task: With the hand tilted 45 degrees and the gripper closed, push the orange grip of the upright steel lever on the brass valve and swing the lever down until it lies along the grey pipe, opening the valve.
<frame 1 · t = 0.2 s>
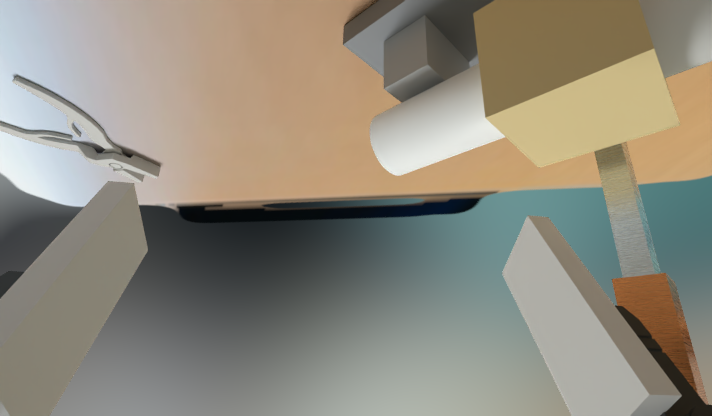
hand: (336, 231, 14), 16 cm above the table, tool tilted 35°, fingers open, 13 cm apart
pliers: (84, 133, 39), on the table
valve lever: (635, 245, 19), point 14 cm above the table, hinge at 0.0°
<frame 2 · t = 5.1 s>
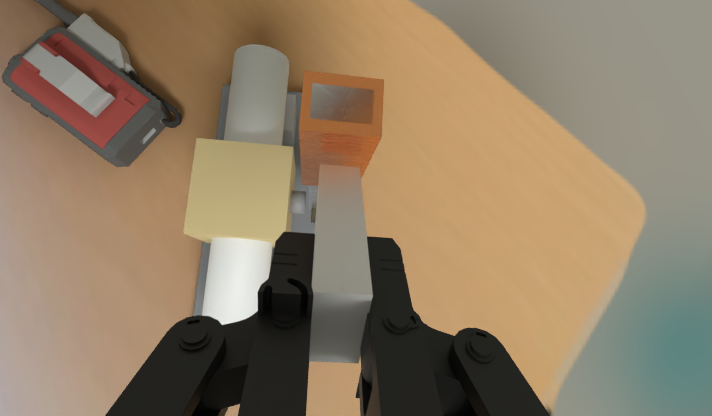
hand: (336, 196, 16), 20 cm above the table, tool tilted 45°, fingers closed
walkie-talkie: (81, 77, 36), on the table
valve lever: (328, 176, 21), point 14 cm above the table, hinge at 0.3°, touching gripper
valve rig: (276, 216, 35), on the table
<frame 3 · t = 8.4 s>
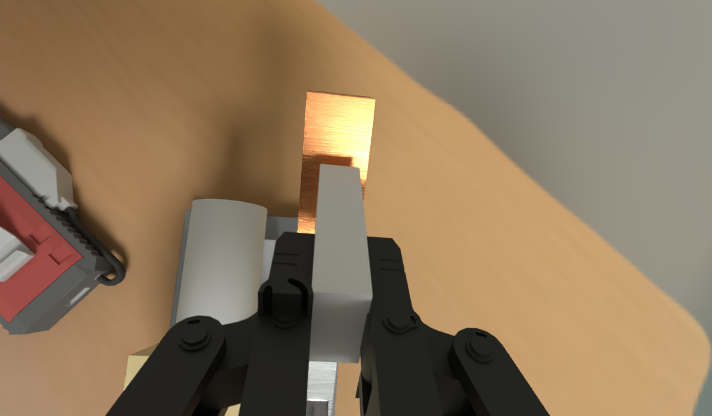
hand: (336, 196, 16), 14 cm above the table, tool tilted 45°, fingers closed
walkie-talkie: (9, 201, 28), on the table
valve lever: (322, 286, 19), point 10 cm above the table, hinge at 61.6°, touching gripper
valve rig: (254, 378, 27), on the table
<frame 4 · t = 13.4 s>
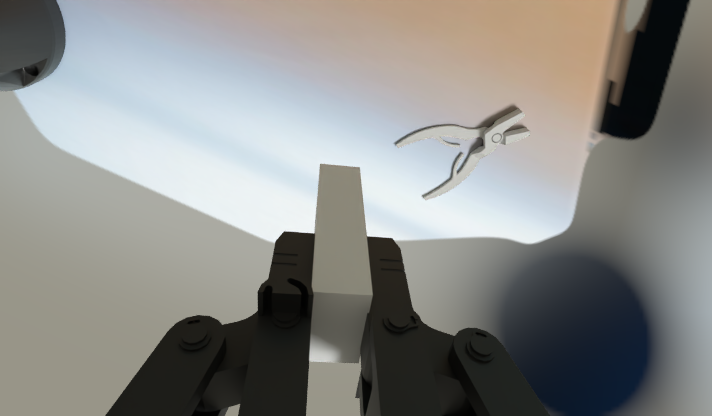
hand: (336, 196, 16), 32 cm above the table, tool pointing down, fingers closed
pliers: (464, 145, 51), on the table
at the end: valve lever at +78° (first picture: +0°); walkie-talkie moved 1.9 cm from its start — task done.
